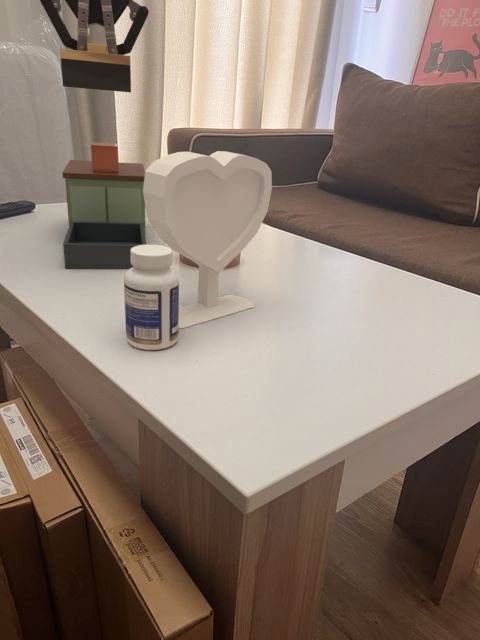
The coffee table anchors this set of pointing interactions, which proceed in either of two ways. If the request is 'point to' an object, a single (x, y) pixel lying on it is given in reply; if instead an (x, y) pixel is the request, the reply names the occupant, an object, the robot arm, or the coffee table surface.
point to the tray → (101, 244)
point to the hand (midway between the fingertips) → (99, 87)
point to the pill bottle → (151, 298)
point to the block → (104, 157)
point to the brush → (95, 69)
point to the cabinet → (105, 193)
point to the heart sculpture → (207, 218)
